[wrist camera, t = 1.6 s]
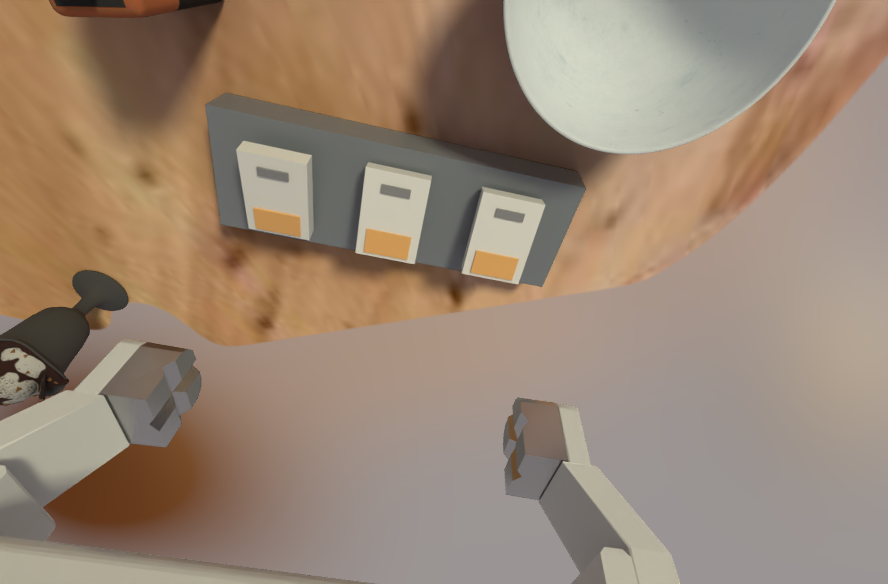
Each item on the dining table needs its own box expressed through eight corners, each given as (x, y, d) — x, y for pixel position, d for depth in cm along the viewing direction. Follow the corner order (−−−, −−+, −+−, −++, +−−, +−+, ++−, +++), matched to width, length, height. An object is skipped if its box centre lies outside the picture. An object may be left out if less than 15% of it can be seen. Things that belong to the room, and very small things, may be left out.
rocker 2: (359, 243, 33) (355, 253, 31) (369, 160, 30) (365, 167, 28) (416, 254, 33) (414, 265, 32) (432, 173, 30) (431, 181, 29)
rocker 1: (257, 214, 33) (248, 229, 32) (246, 137, 28) (234, 150, 27) (315, 226, 33) (308, 241, 32) (313, 151, 29) (306, 165, 27)
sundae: (46, 270, 41) (-124, 400, 29) (104, 256, 39) (-50, 385, 28) (98, 321, 45) (-34, 453, 33) (152, 309, 43) (35, 443, 31)
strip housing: (237, 206, 36) (220, 224, 33) (225, 92, 30) (205, 104, 28) (537, 266, 38) (542, 286, 36) (577, 171, 33) (586, 188, 30)
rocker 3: (461, 263, 34) (461, 274, 32) (481, 184, 31) (483, 192, 29) (515, 274, 34) (518, 285, 33) (540, 197, 31) (545, 205, 29)
